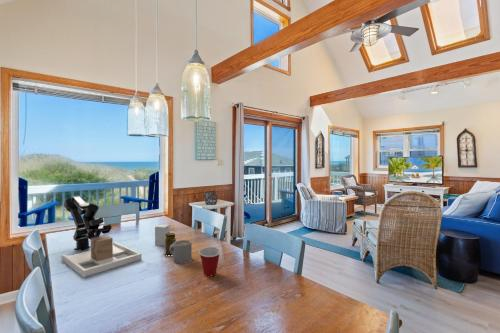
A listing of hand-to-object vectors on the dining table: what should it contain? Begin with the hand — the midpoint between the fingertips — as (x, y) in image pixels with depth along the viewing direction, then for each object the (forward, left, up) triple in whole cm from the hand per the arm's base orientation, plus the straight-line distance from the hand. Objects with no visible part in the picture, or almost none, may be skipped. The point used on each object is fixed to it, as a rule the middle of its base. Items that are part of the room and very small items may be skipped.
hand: (97, 243), depth 146 cm
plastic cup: (+72, -5, -8) cm, 73 cm away
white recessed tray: (+5, -2, -8) cm, 10 cm away
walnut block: (+5, -2, -7) cm, 9 cm away
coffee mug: (+48, +9, -8) cm, 50 cm away
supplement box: (+23, +30, -8) cm, 39 cm away
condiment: (+38, +15, -9) cm, 42 cm away
